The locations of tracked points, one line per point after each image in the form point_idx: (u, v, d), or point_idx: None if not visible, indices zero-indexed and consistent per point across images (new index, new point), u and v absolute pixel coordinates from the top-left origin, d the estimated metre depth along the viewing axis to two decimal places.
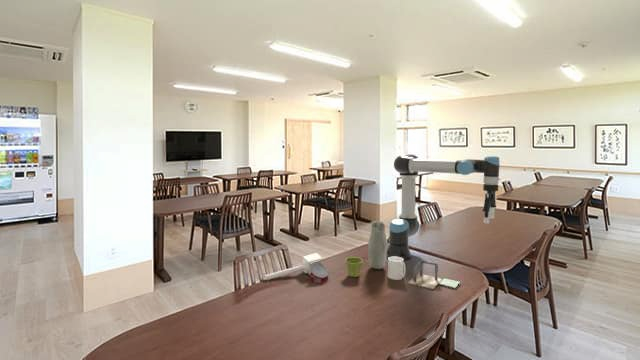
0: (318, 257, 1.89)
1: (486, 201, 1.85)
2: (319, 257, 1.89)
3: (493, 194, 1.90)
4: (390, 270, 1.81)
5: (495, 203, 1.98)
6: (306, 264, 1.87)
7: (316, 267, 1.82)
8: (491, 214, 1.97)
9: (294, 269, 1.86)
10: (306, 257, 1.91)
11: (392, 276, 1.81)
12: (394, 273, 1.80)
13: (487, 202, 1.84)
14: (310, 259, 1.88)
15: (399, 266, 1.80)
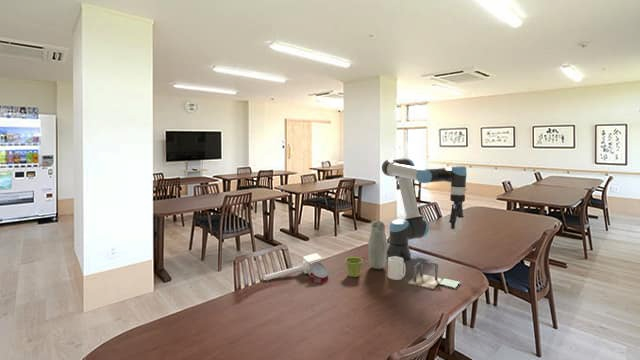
0: (318, 257, 1.89)
1: (452, 213, 1.81)
2: (319, 257, 1.89)
3: (460, 204, 1.86)
4: (390, 270, 1.81)
5: (462, 213, 1.94)
6: (306, 264, 1.86)
7: (316, 267, 1.82)
8: (458, 224, 1.93)
9: (294, 269, 1.86)
10: (306, 257, 1.91)
11: (392, 276, 1.81)
12: (394, 273, 1.80)
13: (453, 213, 1.80)
14: (310, 259, 1.87)
15: (399, 266, 1.80)
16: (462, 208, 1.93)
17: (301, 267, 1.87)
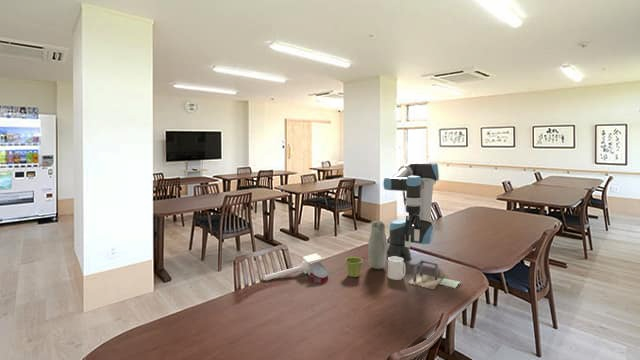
0: (318, 257, 1.89)
1: (406, 224, 1.74)
2: (319, 257, 1.88)
3: (416, 216, 1.80)
4: (390, 270, 1.81)
5: (420, 224, 1.88)
6: (306, 264, 1.86)
7: (316, 267, 1.82)
8: (416, 236, 1.87)
9: (294, 269, 1.86)
10: (306, 257, 1.91)
11: (392, 276, 1.81)
12: (394, 273, 1.80)
13: (407, 225, 1.74)
14: (310, 259, 1.87)
15: (399, 266, 1.80)
16: (420, 219, 1.86)
17: (301, 267, 1.87)
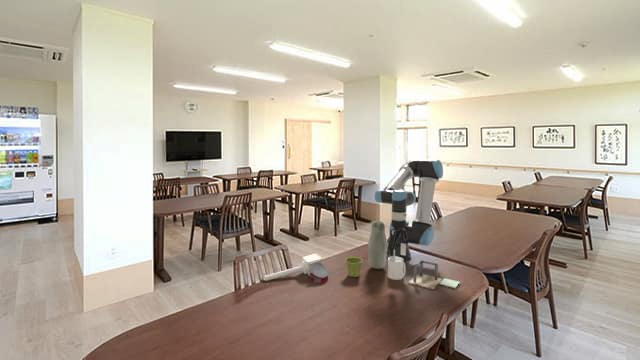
0: (317, 258, 1.88)
1: (390, 239, 1.74)
2: (318, 258, 1.88)
3: (401, 230, 1.79)
4: (390, 270, 1.81)
5: (407, 239, 1.87)
6: (305, 265, 1.86)
7: (316, 267, 1.82)
8: (402, 250, 1.86)
9: (293, 270, 1.85)
10: (305, 258, 1.90)
11: (392, 276, 1.81)
12: (394, 273, 1.80)
13: (392, 240, 1.73)
14: (309, 260, 1.87)
15: (399, 266, 1.80)
16: (406, 234, 1.85)
17: (301, 267, 1.87)
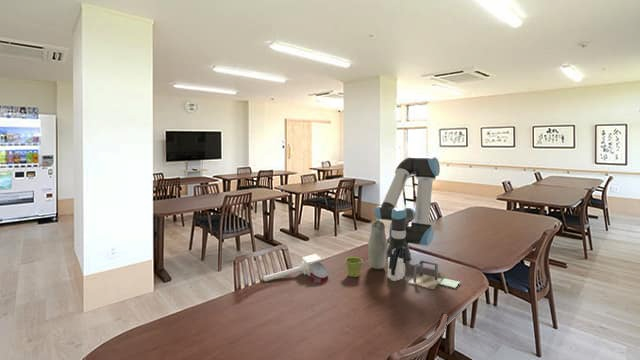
0: (317, 258, 1.88)
1: (391, 259, 1.76)
2: (318, 258, 1.88)
3: (401, 248, 1.80)
4: (390, 270, 1.81)
5: (406, 258, 1.87)
6: (305, 265, 1.85)
7: (316, 267, 1.82)
8: None
9: (293, 270, 1.85)
10: (305, 258, 1.90)
11: None
12: None
13: (392, 260, 1.75)
14: (309, 260, 1.86)
15: (399, 266, 1.79)
16: (405, 252, 1.86)
17: (300, 268, 1.86)
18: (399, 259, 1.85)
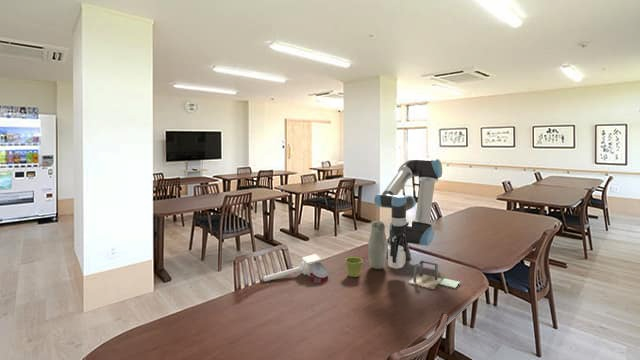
0: (317, 258, 1.87)
1: (392, 246, 1.75)
2: (318, 258, 1.87)
3: (401, 235, 1.80)
4: (390, 258, 1.80)
5: (406, 246, 1.86)
6: (305, 265, 1.85)
7: (316, 267, 1.82)
8: None
9: (293, 270, 1.84)
10: (305, 258, 1.90)
11: None
12: None
13: (393, 247, 1.75)
14: (309, 260, 1.86)
15: (399, 254, 1.79)
16: (405, 240, 1.85)
17: (300, 268, 1.86)
18: (399, 247, 1.85)
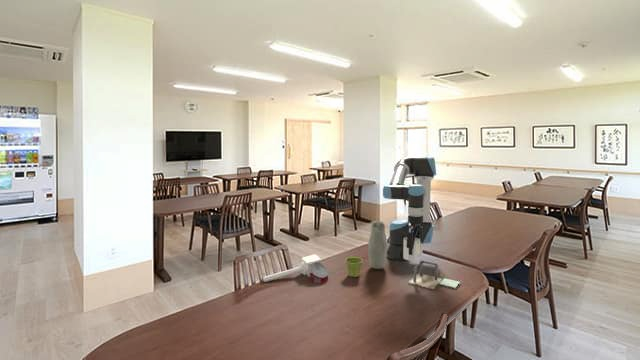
0: (317, 258, 1.87)
1: (408, 238, 1.68)
2: (318, 258, 1.87)
3: (418, 226, 1.72)
4: (406, 251, 1.73)
5: (422, 239, 1.78)
6: (305, 265, 1.85)
7: (316, 267, 1.82)
8: None
9: (293, 271, 1.84)
10: (305, 258, 1.89)
11: None
12: None
13: (410, 238, 1.67)
14: (309, 260, 1.86)
15: (415, 246, 1.71)
16: (422, 232, 1.77)
17: (300, 268, 1.86)
18: (415, 239, 1.77)
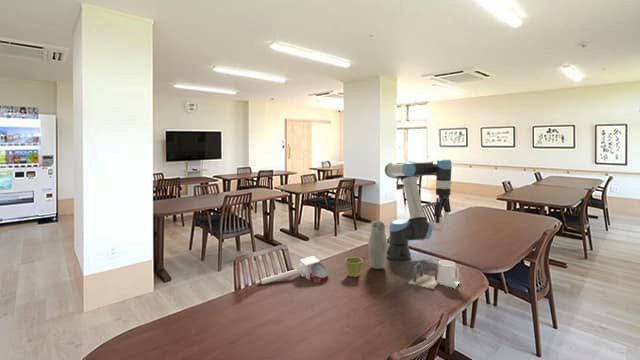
0: (315, 260, 1.84)
1: (436, 206, 1.79)
2: (316, 260, 1.84)
3: (446, 198, 1.84)
4: (441, 275, 1.72)
5: None
6: (303, 267, 1.82)
7: (316, 267, 1.82)
8: (445, 219, 1.91)
9: (291, 273, 1.81)
10: (303, 260, 1.86)
11: (443, 281, 1.71)
12: (445, 277, 1.70)
13: (438, 207, 1.78)
14: (307, 262, 1.83)
15: (451, 271, 1.70)
16: (449, 203, 1.90)
17: (298, 270, 1.83)
18: (450, 263, 1.76)
